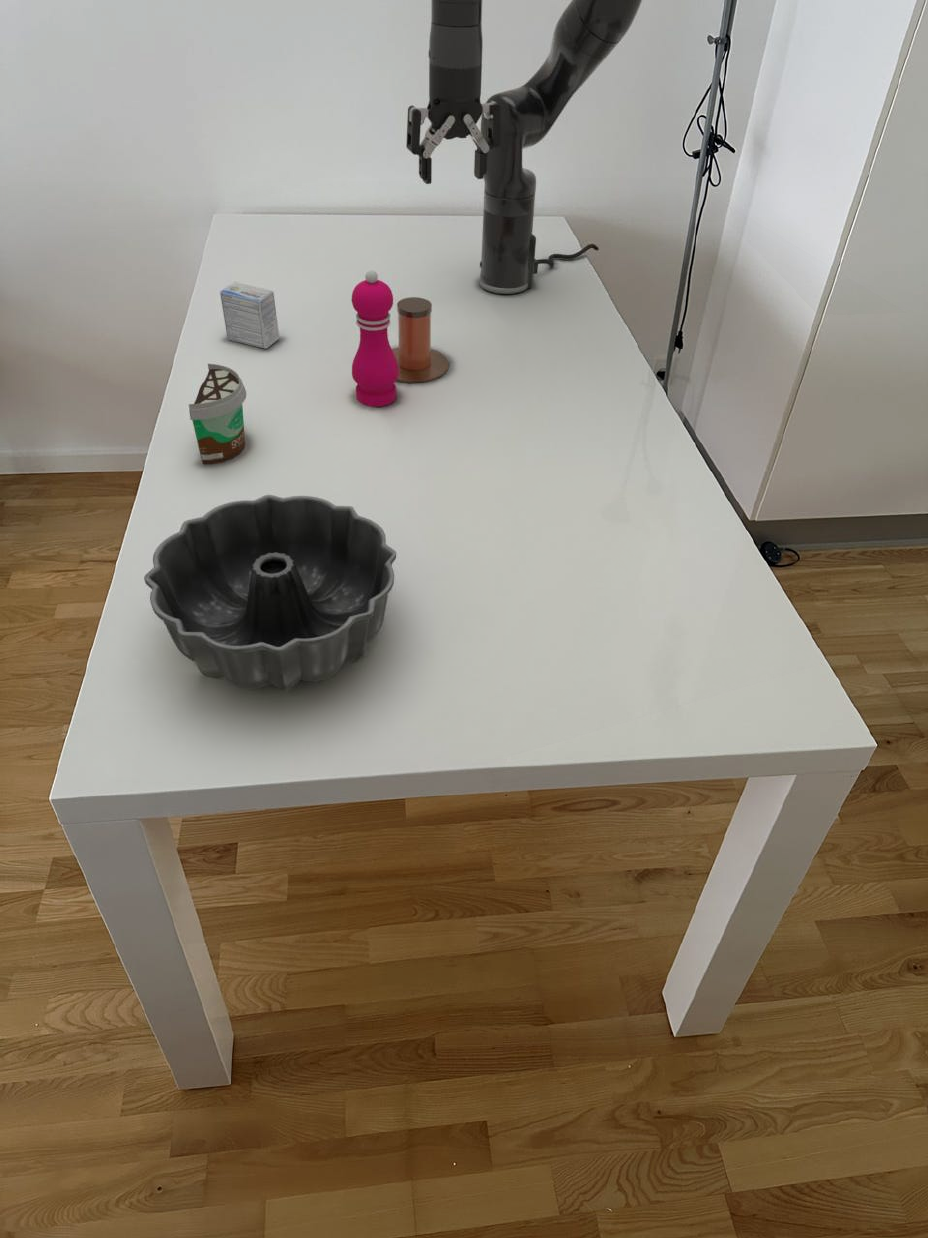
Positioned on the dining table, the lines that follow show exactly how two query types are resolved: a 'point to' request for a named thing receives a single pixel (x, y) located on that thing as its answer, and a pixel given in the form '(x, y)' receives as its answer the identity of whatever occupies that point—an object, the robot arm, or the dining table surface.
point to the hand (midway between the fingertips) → (453, 179)
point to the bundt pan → (273, 589)
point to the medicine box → (250, 315)
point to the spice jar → (414, 333)
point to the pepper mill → (374, 343)
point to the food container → (219, 415)
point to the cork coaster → (430, 373)
